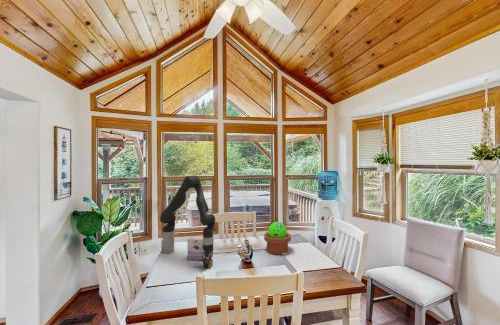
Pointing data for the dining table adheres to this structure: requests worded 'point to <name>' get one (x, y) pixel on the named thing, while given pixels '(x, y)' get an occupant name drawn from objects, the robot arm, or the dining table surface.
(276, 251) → the potted cactus
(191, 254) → the candy box
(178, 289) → the dining table surface
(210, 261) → the walnut cube
